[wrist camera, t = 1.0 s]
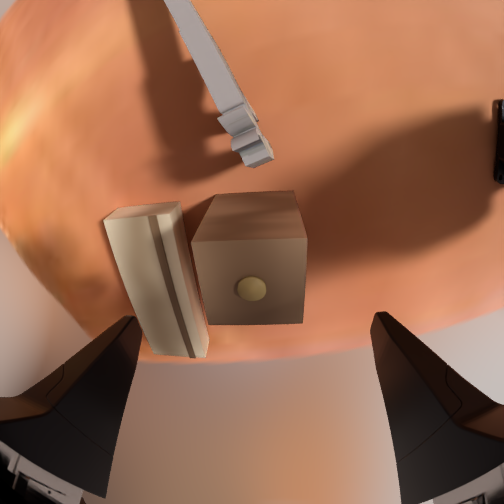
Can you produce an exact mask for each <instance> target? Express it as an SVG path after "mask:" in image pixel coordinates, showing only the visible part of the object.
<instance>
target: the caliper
mask: <svg viewBox="0 0 504 504" xmlns="http://www.w3.org/2000/svg"><path fill="white" fill-rule="evenodd" d="M164 2H165V4H166V5H167V7H168V9H169V11H170V13H171V15H172V16H173V18H174V20H175V22H176V24H177V26H178V28H179V29H180V31H179V33H180V35H181V36H182V38H183V40H184V42H185V44H186V46H187V48H188V50H189V52H190V54H191V56H192V58H193V60H194V62H195V64H196V66H197V68H198V70H199V72H200V74H201V76H202V78H203V80H204V82H205V84H206V86H207V88H208V90H209V92H210V94H211V96H212V98H213V100H214V102H215V104H216V106H217V108H218V110H219V112H220V113H221V114H223V115H222V116H220V117H218V118H217V119H218V121H219V122H220V123H221V125H222V126H223V127H224V129H225V130H226V131H227V132H228V133H229V134H230V135H231V136H233V139H232V140H231V148H232V151H235V152H239V153H240V155H241V158H242V160H243V162H244V164H245V166H247V167H251V168H255V167H257V166H260V165H262V164H264V163H267V162H269V161H272V160H274V156H273V150H272V148H271V146H270V143H269V141H268V140H267V139H266V138H265V137H264V136H263V135H262V133H261V131H260V129H259V127H258V125H257V123H256V122H258V121H259V120H258V118H257V116H256V114H255V112H254V111H253V109H252V107H251V106H250V104H249V102H248V101H247V99H246V98H245V96H244V94H243V93H242V91H241V90H240V88H239V86H238V84H237V82H236V80H235V78H234V76H233V74H232V72H231V70H230V68H229V66H228V64H227V62H226V60H225V58H224V57H223V55H222V53H221V51H220V49H219V47H218V45H217V44H216V42H215V40H214V39H213V38H212V36H211V35H210V33H209V31H208V29H207V28H206V26H205V24H204V23H203V21H202V19H201V17H200V16H199V14H198V12H197V11H196V9H195V7H194V6H193V4H192V3H191V1H190V0H164Z"/></svg>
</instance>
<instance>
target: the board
mask: <svg viewBox="0 0 504 504" xmlns="http://www.w3.org/2000/svg"><path fill="white" fill-rule="evenodd" d="M103 221H104V225H105V228H106V231H107V235H108V238H109V241H110V245H111V248H112V251H113V254H114V257H115V260H116V263H117V266H118V269H119V272H120V274H121V277H122V280H123V283H124V285H125V288H126V291H127V293H128V296H129V298H130V301H131V303H132V306H133V308H134V311H135V313H136V315H137V318H138V320H139V322H140V325H141V327H142V329H143V331H144V334H145V336H146V338H147V340H148V342H149V345H150V347H151V349H152V351H153V353H154V354H159V355H170V356H183V357H190V358H196V357H200V358H206V354H207V349H208V344H209V336H208V332H207V328H206V324H205V320H204V316H203V311H202V307H201V303H200V299H199V294H198V290H197V285H196V281H195V276H194V272H193V267H192V262H191V257H190V252H189V247H188V242H187V237H186V232H185V226H184V221H183V215H182V210H181V204H180V201H178V202H167V203H157V204H147V205H138V206H129V207H121V208H117V209H116V210H115V211H114V212H112V213H111V214H110V215H109V216H108V217H107V218H105V219H104V220H103Z"/></svg>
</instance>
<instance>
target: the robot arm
mask: <svg viewBox="0 0 504 504" xmlns="http://www.w3.org/2000/svg"><path fill="white" fill-rule="evenodd" d="M494 180H495V181H496V182H498V183H500V184H504V100H503V99H501V100H500V101H499V124H498V142H497V154H496V163H495V170H494ZM370 334H371V340H372V346H373V351H374V358H375V365H376V370H377V374H378V378H379V382H380V386H381V390H382V394H383V398H384V402H385V407H386V411H387V415H388V420H389V426H390V430H391V435H392V440H393V446H394V451H395V457H396V463H397V464H396V465H397V471H398V478H399V486H400V494H401V504H420V503H422V502H425V501H428V500H430V499H433V503H434V504H504V405H502V404H499V403H497V402H495V401H493V400H492V399H490V398H489V397H488V396H486V395H485V394H484V393H482V392H481V391H479V390H478V389H477V388H476V387H474V386H473V385H472V384H470V383H469V382H468V381H466V380H465V379H464V378H463V377H462V376H460V375H459V374H458V373H457V372H456V371H455V370H454V369H452V368H451V367H450V366H449V365H447V363H446V362H444V361H443V360H442V359H441V358H440V357H439V356H438V355H437V354H436V353H434V352H433V351H432V350H431V349H430V348H429V347H428V346H426V345H425V344H424V343H423V342H422V341H421V340H419V339H418V338H417V337H416V336H415V335H414V334H412V333H411V332H410V331H409V330H408V329H407V328H405V327H404V326H403V325H402V324H401V323H399V322H398V321H397V320H396V319H395V318H394V317H392V316H391V315H390V314H389V313H387V312H385V311H383V312H376V313H375V315H374V318H373V322H372V325H371V329H370ZM141 340H142V330H141V327H140V325H139V323H138V321H137V318H136V317H135V316H130V315H126V316H124V317H122V318H121V319H120V320H119V321H117V322H116V323H115V324H113V325H112V326H111V327H109V328H108V329H107V330H106V331H104V332H103V333H102V334H100V335H99V336H98V337H97V338H95V339H94V340H93V341H92V342H90V343H89V344H88V345H86V346H85V347H84V348H83V349H81V350H80V351H79V352H77V353H76V354H75V355H74V356H72V357H71V358H70V359H69V360H68V361H66V362H65V363H64V364H62V365H61V366H60V367H59V368H57V369H56V370H55V371H53V372H52V373H51V374H50V375H48V376H47V377H45V378H44V379H43V380H41V381H40V382H38V383H37V384H35V385H34V386H32V387H31V388H29V389H28V390H26V391H25V392H23V393H22V394H20V395H18V396H15V397H0V504H86V503H85V501H84V499H83V498H82V497H81V496H82V492H83V490H85V491H87V492H90V493H92V494H95V495H97V496H99V497H102V498H106V493H107V487H108V481H109V476H110V471H111V466H112V461H113V455H114V451H115V446H116V441H117V437H118V433H119V429H120V425H121V421H122V417H123V413H124V409H125V405H126V402H127V398H128V394H129V391H130V387H131V384H132V380H133V377H134V373H135V370H136V365H137V360H138V355H139V350H140V345H141Z"/></svg>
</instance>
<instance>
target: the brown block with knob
mask: <svg viewBox="0 0 504 504" xmlns="http://www.w3.org/2000/svg"><path fill="white" fill-rule="evenodd" d="M307 239H308V238H307V234H306V231H305V227H304V224H303V221H302V217H301V214H300V211H299V207H298V204H297V201H296V197H295V194H294V191H268V192H246V193H228V194H216V195H215V197H214V199H213V201H212V203H211V204H210V206H209V208H208V210H207V212H206V214H205V216H204V218H203V220H202V222H201V223H200V225H199V227H198V229H197V231H196V233H195V235H194V237H193V239H192V241H191V245H192V250H193V255H194V260H195V265H196V270H197V275H198V280H199V285H200V289H201V294H202V298H203V303H204V307H205V312H206V316H207V320H208V325H272V324H299V323H303V313H304V299H305V283H306V264H307Z"/></svg>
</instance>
